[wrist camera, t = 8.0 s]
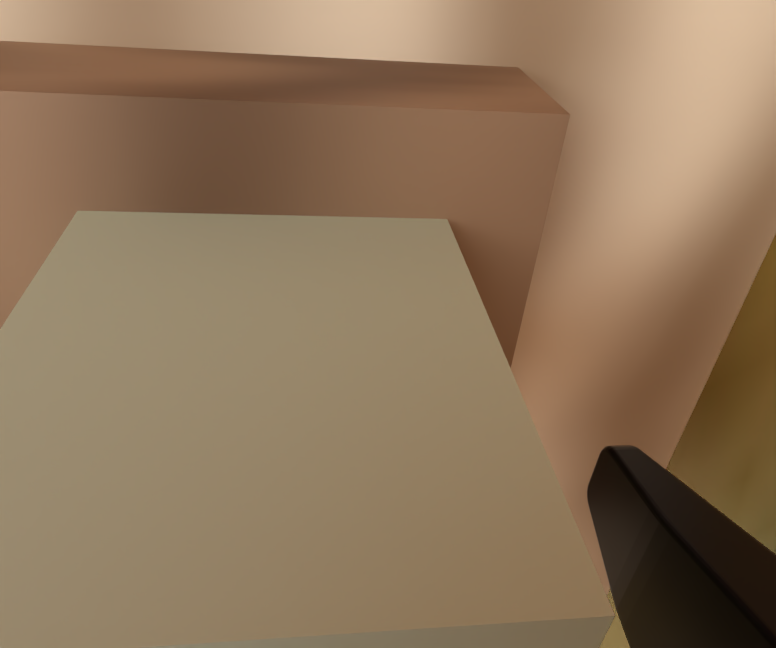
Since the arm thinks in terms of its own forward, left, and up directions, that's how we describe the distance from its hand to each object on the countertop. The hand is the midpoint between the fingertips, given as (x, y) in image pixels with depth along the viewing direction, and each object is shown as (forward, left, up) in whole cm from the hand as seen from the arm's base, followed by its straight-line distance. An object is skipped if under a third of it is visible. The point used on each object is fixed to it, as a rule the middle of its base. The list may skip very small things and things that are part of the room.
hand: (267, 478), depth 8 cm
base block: (0, 0, -5) cm, 5 cm away
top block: (0, 0, -2) cm, 2 cm away
